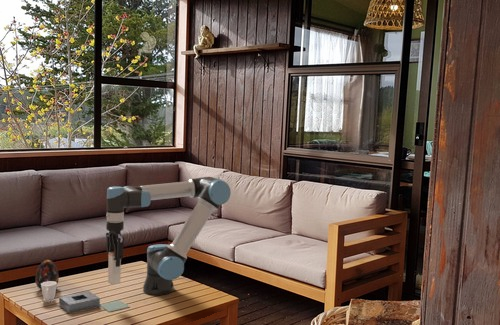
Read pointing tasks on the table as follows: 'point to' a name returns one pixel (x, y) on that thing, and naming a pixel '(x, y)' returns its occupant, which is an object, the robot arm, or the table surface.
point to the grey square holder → (79, 302)
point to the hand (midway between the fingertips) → (114, 271)
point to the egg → (46, 273)
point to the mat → (114, 306)
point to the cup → (48, 290)
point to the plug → (111, 276)
